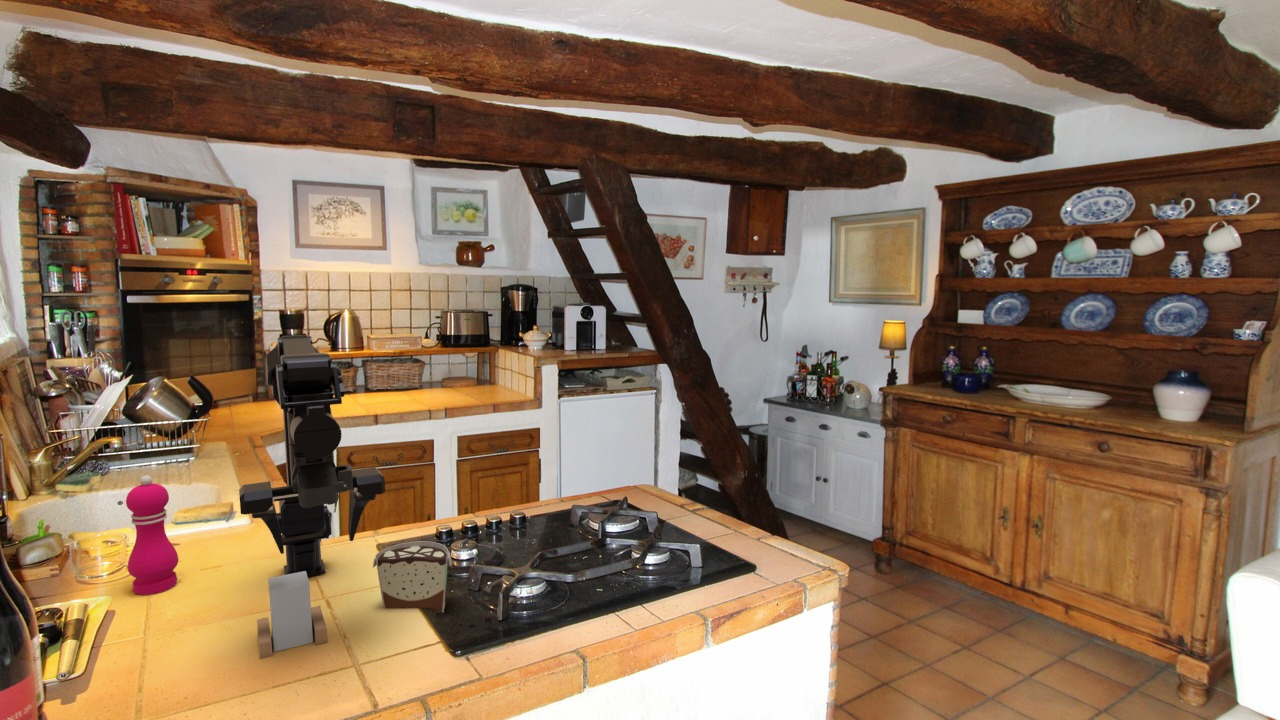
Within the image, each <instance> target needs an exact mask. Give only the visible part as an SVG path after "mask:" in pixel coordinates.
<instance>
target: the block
mask: <svg viewBox="0 0 1280 720" xmlns="http://www.w3.org/2000/svg"><path fill="white" fill-rule="evenodd" d="M267 580H268V592H269V593H268V594H269V595H268V596H269V607H270V608H269V609H270V611H269V612H270V620H271V621H270V623H271V639H272V647H273V652H274V653H275V652H280V651H284V650H289V649H291V648H296V647H300V646H304V645H305V646H306V645H308V644H309V645H310V644H313V643H314V635H313V631H312V618H311V608H312V607H311V591H310V590H311V589H310V586H311V585H310V581H309V578H308V577H307V573H306V571H303V572H298V573H293V574H287V575H285V574H283V575H278V576H273V577H268V579H267Z"/></svg>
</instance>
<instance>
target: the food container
mask: <svg viewBox="0 0 1280 720" xmlns="http://www.w3.org/2000/svg"><path fill="white" fill-rule="evenodd" d="M372 563H373V565H372V568H373V569H374V568H375V567H376V569H377V575H378V577H377V578H378V582H379V589H380V595H381V600H382V606H383V607H382V608H383V610H386V609H387V610H390V609H391V610H392V609H393V610H394V609H395V610H396V609H397V610H398V609H399V610H400V609H431V610H432V611H434V612H443V613H444V614H445V611H444V609H445V608H446V596H447V595H446V593H447V578H448V566H449V567H452V565H453V561H452V555H451V553H450V551H449V550H448V548H447V546H445V545H444V544H442V543H439V542H435V541H426V540H425V541H424V540H423V541H421V540H419V541H410V542H403V543H398V544H395V545H391V546H388V547H386V548H384V549H382V550H380V551H379V552H377V553H376V554H375V557H374V559H373V562H372ZM434 612H433V613H434Z"/></svg>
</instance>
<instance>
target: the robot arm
mask: <svg viewBox="0 0 1280 720" xmlns="http://www.w3.org/2000/svg"><path fill="white" fill-rule="evenodd" d="M331 357H332V356H331V355H330V354H329V353H326V352H320V351H319V350H318V349H317V348H316V347H314V346H313V339H312V336H309V335H308V334H300V335H299V334H297V335H296V334H295V335H282V336H281V337H277V345H276V346H274V347H273V349H271V350H270V351H269V352H268V353H266V355H265V374H266V385H267V387H271V393H272V396H273V399H274V400H275V401H276V403H277V404H278V405H279V407H280V410H282V415H283V416H282V417H283V431H284V432H283V434H284V449H285V464H286V467H285V469H286V481H287V482H286V483H287V485H285V486H277V487H272V485H271V481H262V482H254V483H248V484H247V483H246V484H242V486H241V487H240V488H239V489H238V491H239V492H238V494H239V495H238V496H239V507H240V515H244V516H245V515H251V517H252V518H253V519H261V520H262V521H263V522H264V523H265V525H266V527H267V528H268V530H269V531H270V533H271V535H272V536H271V537H273V539H274V540H273V541H274V543H275V544H276V547H277V549H278V550H279V553H280V554H281V555H283V554H284V553H285V556H286V557H285V558H286V560H285V561H286V564H285V565H284V566H283V572H284V575H287V574H293V573H298V572H303V571H306V573H307V577H312V576H318V575H323V574H326V572H327V570H326V567H325V563H324V560H323V558H322V551H321V550H322V549H321V540H324V539H330V536H331V535H333V534H332V533H333V532H332V520H333V519H332V518H333V515H332V514H333V513H332V512H331V511H330V510H329V509H328V505H329V506H330V505H334V504H336V503H337V502H339V494H341V493H346V492H348V491H349V499H348V501H349V502H348V505H349V506H348V527H347V529H348V538H349V539H348V540H349V541H350V542H354V539H355V537H356V533H357V528H358V526H359V522H360V519H361V517H362V514H363V511H364V510H365V508H366V506H367V505H368V504H369V502H372V501H375V500H376V499H377V496H378V495H383V494H384V493H386V481H385V477H384V475H383V474H382V473H381V471H380V470H379V469H378V468H377V467H366V468H360V469H352V466H351V464H343V465H339V466H338V465H337V466H336V463H335V456H334V455H335V454H334V452H335V451H336V450H337V448H338V447H339V445H340V443H341V440H342V429H341V427H340V425H339V423H338V422H337V421H336V419H335V418H334V416H333V414H332V408H331V406H332V405H334V406H335V405H341V404H343V400H342V398H345V387H344V381H343V376H342V370H341V368H340V367H338V363H337V362H336V361H335V360H333V361H332V358H331ZM275 502H278V506H279V507H278V509H279V512H277V509H276V507H275V506H276V505H275Z"/></svg>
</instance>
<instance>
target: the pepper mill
mask: <svg viewBox="0 0 1280 720" xmlns="http://www.w3.org/2000/svg"><path fill="white" fill-rule="evenodd" d="M139 483H140V484H139V485H137V486H135V487H133V488H132V489H131V490H129V492H128V493H127V495H126V499H125V504H126V505H125V506H126V508H127V509H128V510H129V511H130V512H132V514H131V515H130V518H131V524H133V525H134V526H135V531H136V532H135V533H136V537H135V542H134V545H133V547H132V550H131V552H130V555H129V557H128V562H127V572H128V574H129V575H130V576H132V577H133V578H135V579H134V580H133V581H132V589H133V593H134V594H136V595H138V596H149V595H150V596H151V595H157V594H160V593H163V592H165V591H168V590H171V589H173V588H174V587H176V585H177V584H178V580H177V579H178V577H177V573H176V571H174V570H175V569H176V567H178V564H179V555H178V552H177V550H176V548H175V546H174V545H173V544H172V542H171V541H170V540H169V538H168V536H167V533H166V529H165V520H166V519H167V518H168V515H167V509H166V508H165V507H166V506H167V504H168V503H169V500H170V497H169V492H168V490H167V488H165V486H164V485H162V484H159V483H154V482H153V478H152V477H151V476H150V475H147V474H146V475H143V476H141V478H140V479H139Z"/></svg>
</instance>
